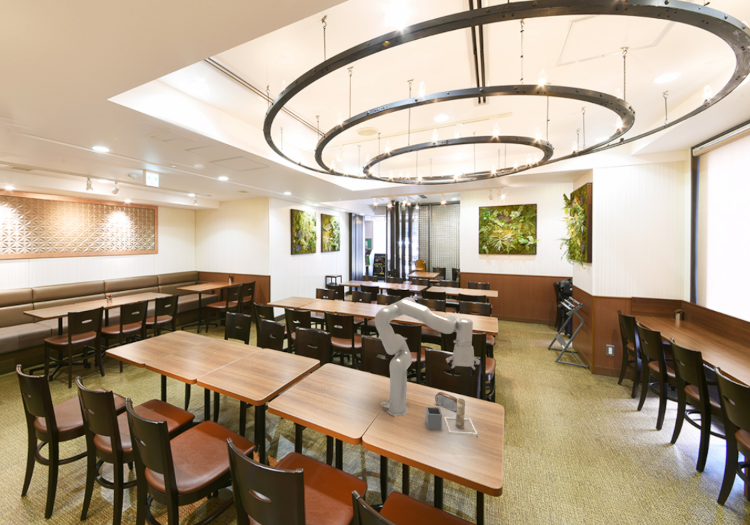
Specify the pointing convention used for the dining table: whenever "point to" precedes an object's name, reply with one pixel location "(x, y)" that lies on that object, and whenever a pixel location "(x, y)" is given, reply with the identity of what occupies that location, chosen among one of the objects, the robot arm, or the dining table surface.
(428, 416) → the holder
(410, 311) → the robot arm
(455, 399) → the tin
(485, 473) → the dining table surface
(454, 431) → the white square frame
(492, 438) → the dining table surface
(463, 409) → the dowel
